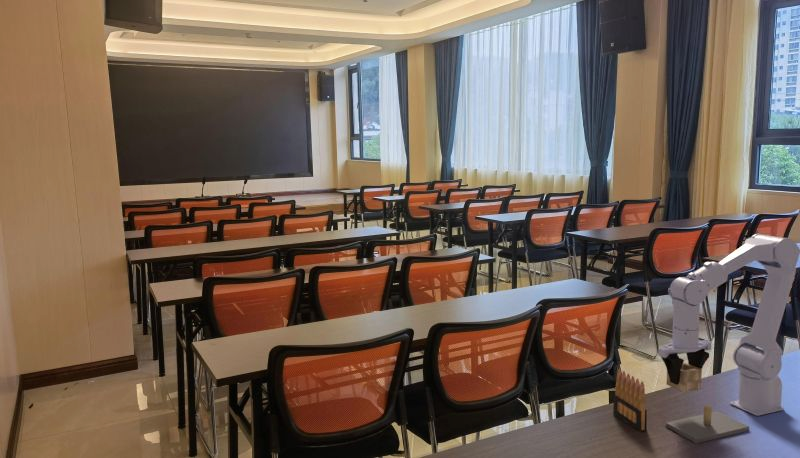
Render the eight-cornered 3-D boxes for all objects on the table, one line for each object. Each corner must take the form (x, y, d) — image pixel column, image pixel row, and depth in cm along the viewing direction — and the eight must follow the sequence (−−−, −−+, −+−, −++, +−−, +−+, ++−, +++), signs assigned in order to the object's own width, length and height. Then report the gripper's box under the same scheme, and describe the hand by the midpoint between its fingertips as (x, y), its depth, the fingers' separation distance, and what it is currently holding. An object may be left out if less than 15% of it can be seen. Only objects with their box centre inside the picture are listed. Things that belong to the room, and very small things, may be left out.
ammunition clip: (646, 430, 141) (648, 382, 139) (640, 431, 140) (641, 383, 139) (619, 412, 151) (620, 366, 149) (613, 413, 151) (613, 367, 149)
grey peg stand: (716, 415, 148) (717, 392, 147) (748, 430, 139) (750, 406, 139) (665, 426, 142) (666, 403, 142) (696, 443, 134) (697, 418, 133)
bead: (683, 381, 149) (684, 362, 149) (701, 389, 144) (701, 369, 144) (666, 384, 148) (667, 365, 147) (683, 392, 143) (684, 372, 142)
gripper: (696, 319, 150) (694, 371, 152) (649, 326, 145) (648, 379, 147) (719, 327, 143) (717, 381, 145) (671, 334, 139) (669, 390, 141)
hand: (683, 381), depth 146 cm, fingers closed on bead, 5 cm apart
